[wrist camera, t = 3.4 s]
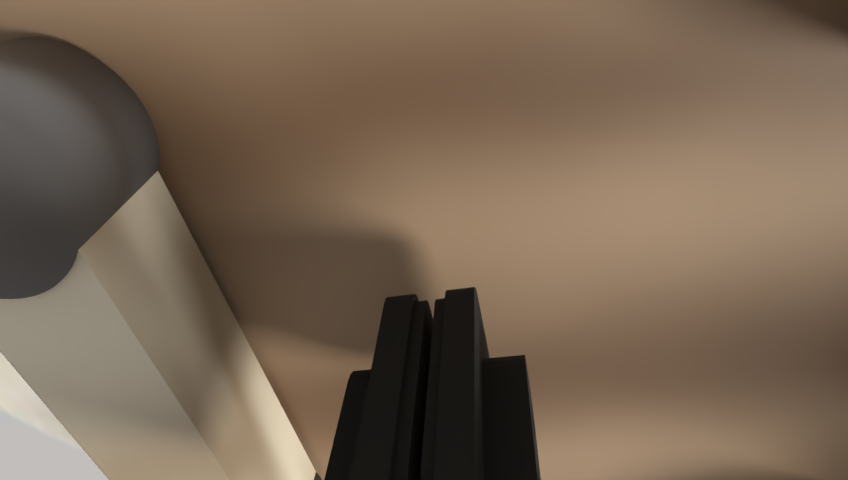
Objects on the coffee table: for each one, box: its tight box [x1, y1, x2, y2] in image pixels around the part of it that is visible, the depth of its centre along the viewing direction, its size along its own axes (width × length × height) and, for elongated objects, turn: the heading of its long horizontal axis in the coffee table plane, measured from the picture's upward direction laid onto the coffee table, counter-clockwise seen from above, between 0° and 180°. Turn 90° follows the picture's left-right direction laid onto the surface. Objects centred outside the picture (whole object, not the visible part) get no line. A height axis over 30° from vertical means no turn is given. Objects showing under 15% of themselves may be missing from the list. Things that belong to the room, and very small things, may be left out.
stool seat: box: [0, 0, 848, 480], centre depth 12 cm, size 20×20×6 cm
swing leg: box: [0, 37, 322, 480], centre depth 12 cm, size 13×3×3 cm, turn 13°
